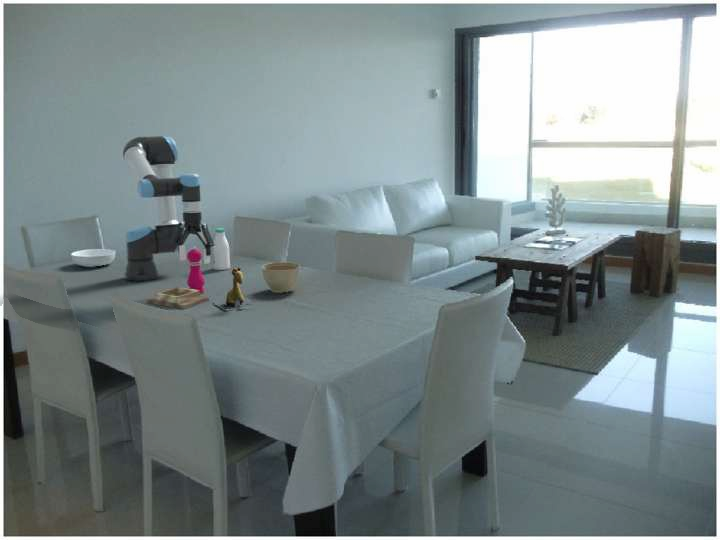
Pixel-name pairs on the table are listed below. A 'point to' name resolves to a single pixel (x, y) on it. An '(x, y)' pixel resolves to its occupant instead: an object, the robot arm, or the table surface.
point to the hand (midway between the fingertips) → (195, 261)
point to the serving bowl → (93, 257)
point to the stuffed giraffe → (234, 292)
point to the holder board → (178, 298)
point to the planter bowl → (281, 276)
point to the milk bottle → (221, 251)
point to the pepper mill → (195, 270)
